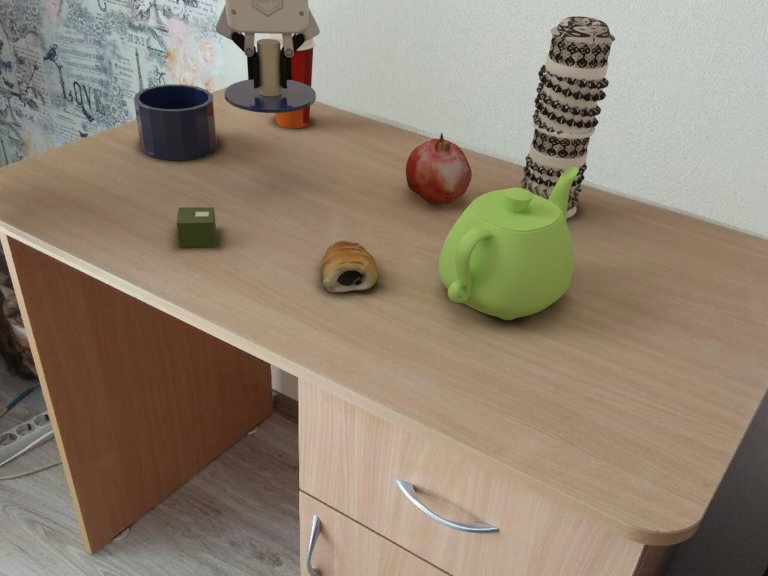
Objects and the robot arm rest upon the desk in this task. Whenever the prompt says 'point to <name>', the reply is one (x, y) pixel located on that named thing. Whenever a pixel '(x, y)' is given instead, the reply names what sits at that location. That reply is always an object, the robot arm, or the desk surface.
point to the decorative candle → (567, 105)
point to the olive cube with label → (196, 227)
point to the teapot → (510, 251)
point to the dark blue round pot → (176, 121)
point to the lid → (270, 86)
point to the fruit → (438, 171)
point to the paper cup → (300, 74)
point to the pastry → (348, 268)
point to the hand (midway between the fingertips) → (270, 83)
